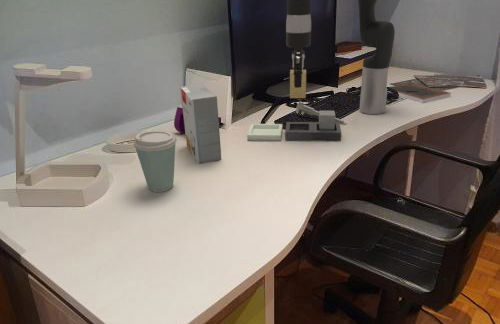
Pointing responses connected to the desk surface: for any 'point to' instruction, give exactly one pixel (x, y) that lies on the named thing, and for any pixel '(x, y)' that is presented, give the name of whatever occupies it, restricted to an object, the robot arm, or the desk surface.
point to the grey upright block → (326, 120)
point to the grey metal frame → (310, 132)
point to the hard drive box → (201, 122)
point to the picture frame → (420, 92)
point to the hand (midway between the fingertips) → (298, 84)
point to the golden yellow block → (298, 91)
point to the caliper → (312, 111)
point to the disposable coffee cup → (157, 158)
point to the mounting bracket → (181, 120)
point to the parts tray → (265, 132)
